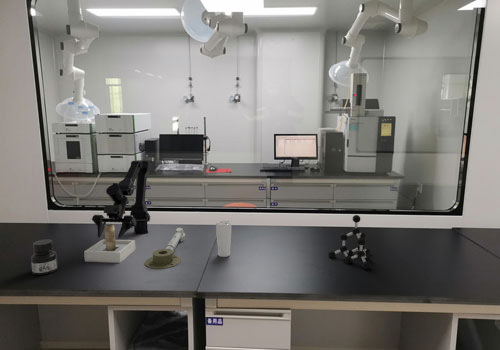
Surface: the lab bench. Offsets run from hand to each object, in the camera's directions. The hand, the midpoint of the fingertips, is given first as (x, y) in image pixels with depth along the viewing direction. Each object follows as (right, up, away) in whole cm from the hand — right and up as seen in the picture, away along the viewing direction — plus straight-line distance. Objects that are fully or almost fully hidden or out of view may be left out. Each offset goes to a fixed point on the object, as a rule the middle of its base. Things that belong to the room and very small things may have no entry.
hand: (108, 237), depth 153 cm
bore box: (0, -8, +2) cm, 9 cm away
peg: (0, -8, +2) cm, 8 cm away
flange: (+25, -10, -5) cm, 27 cm away
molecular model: (+109, -9, -1) cm, 109 cm away
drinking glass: (+50, -8, +2) cm, 51 cm away
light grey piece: (+26, -7, +13) cm, 30 cm away
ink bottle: (-20, -11, -14) cm, 26 cm away
